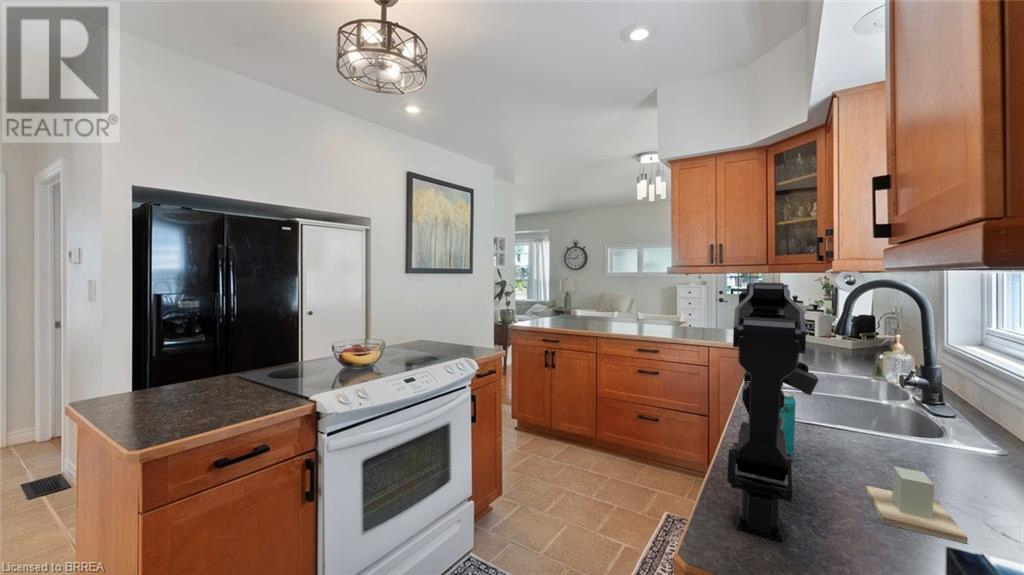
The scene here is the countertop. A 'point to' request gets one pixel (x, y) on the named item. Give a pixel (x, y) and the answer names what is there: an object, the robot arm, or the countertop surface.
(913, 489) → the block
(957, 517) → the countertop surface
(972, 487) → the countertop surface
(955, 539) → the board
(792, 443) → the beverage can
